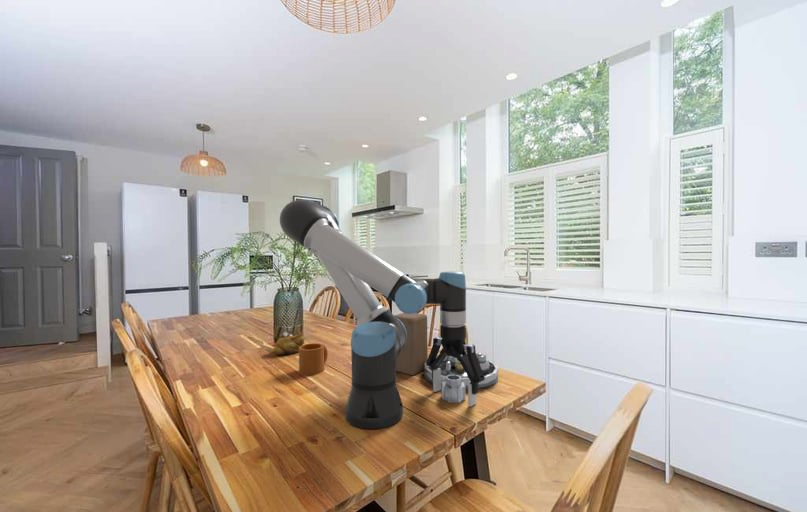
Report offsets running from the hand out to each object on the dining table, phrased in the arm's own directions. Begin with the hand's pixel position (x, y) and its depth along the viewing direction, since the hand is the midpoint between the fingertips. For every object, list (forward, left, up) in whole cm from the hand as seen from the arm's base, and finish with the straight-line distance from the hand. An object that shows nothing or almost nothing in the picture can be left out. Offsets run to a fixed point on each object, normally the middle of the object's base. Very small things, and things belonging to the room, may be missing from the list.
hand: (453, 397), depth 98 cm
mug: (-18, +50, 0) cm, 53 cm away
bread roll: (-17, +78, -1) cm, 79 cm away
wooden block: (+7, +26, 0) cm, 27 cm away
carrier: (+15, +10, 0) cm, 18 cm away
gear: (0, 0, 0) cm, 0 cm away
